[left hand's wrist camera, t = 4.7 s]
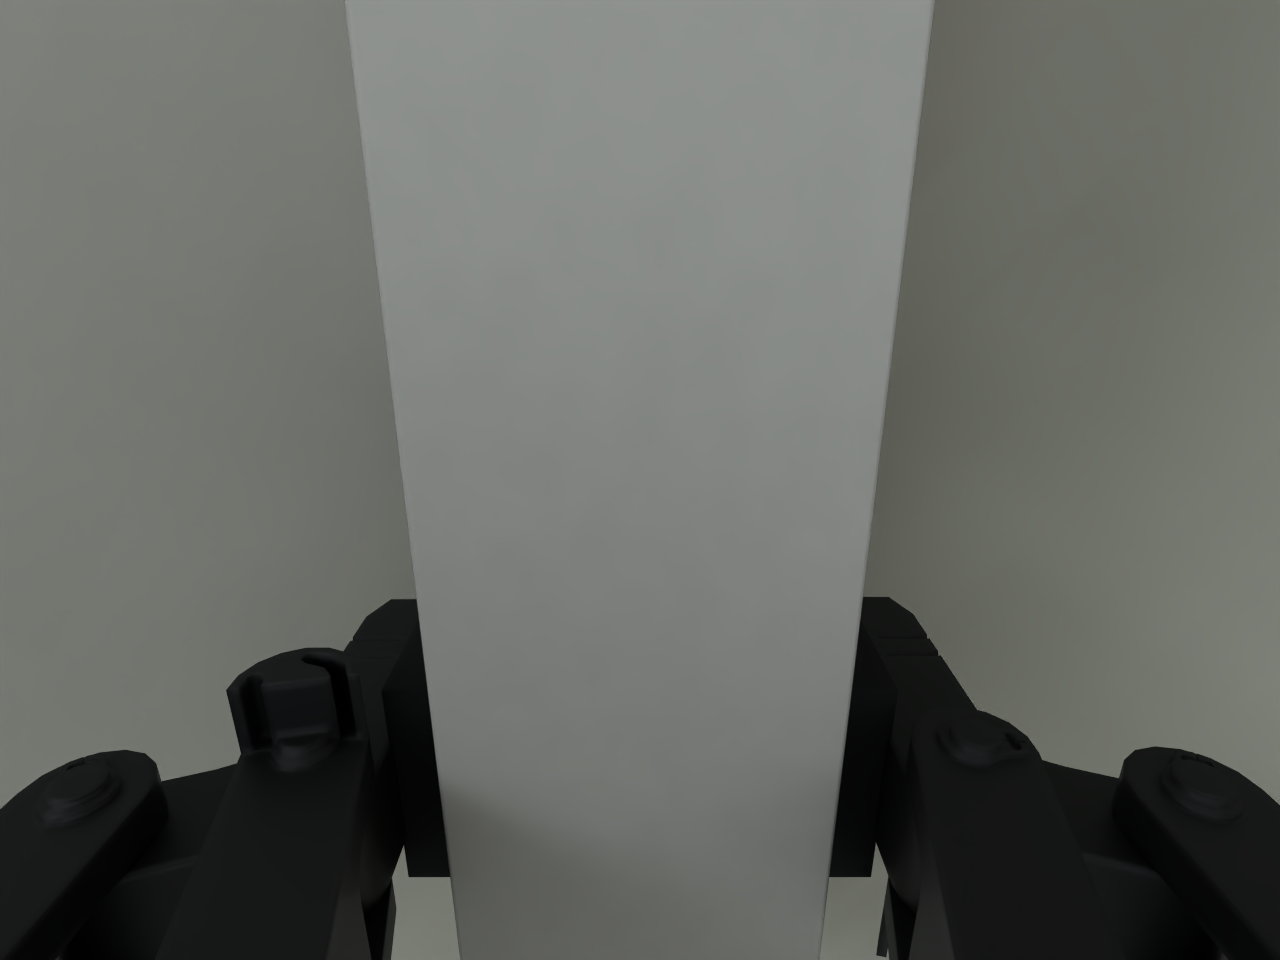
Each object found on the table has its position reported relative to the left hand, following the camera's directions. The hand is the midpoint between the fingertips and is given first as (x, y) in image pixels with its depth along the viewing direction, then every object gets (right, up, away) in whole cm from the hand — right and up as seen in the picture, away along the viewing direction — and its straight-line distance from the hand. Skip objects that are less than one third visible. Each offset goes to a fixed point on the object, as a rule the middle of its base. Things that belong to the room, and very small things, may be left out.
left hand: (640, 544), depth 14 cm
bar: (0, +21, -7) cm, 22 cm away
